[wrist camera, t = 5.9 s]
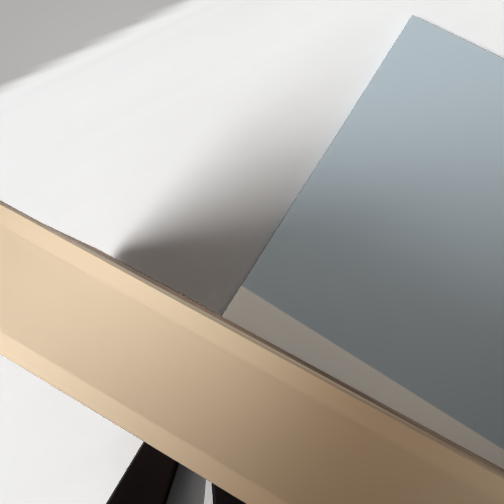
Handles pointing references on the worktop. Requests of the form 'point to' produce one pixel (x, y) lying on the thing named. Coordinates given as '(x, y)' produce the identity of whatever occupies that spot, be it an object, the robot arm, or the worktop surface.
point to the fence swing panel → (213, 386)
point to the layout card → (402, 245)
